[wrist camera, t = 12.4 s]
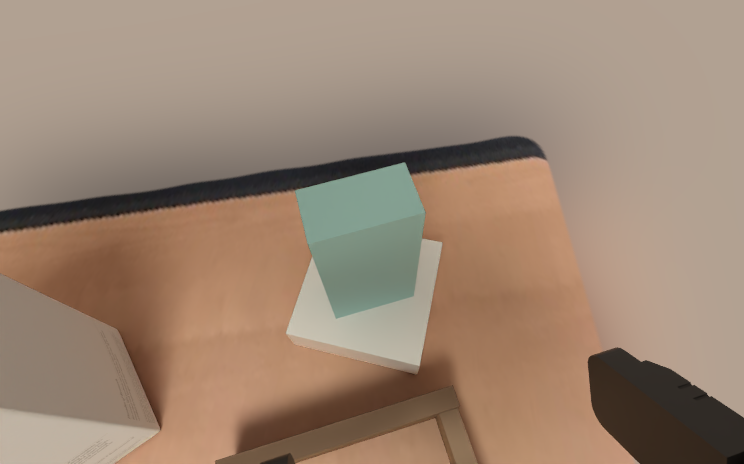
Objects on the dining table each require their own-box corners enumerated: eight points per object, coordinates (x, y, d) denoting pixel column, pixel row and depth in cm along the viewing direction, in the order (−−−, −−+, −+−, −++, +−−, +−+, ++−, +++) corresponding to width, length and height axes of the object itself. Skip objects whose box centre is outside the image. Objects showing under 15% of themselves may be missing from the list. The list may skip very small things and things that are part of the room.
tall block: (413, 296, 29) (425, 212, 19) (335, 318, 28) (307, 244, 19) (400, 258, 30) (404, 162, 21) (325, 278, 30) (294, 190, 20)
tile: (294, 344, 30) (285, 333, 28) (329, 237, 35) (325, 219, 32) (416, 374, 29) (419, 366, 27) (438, 259, 33) (442, 242, 31)
